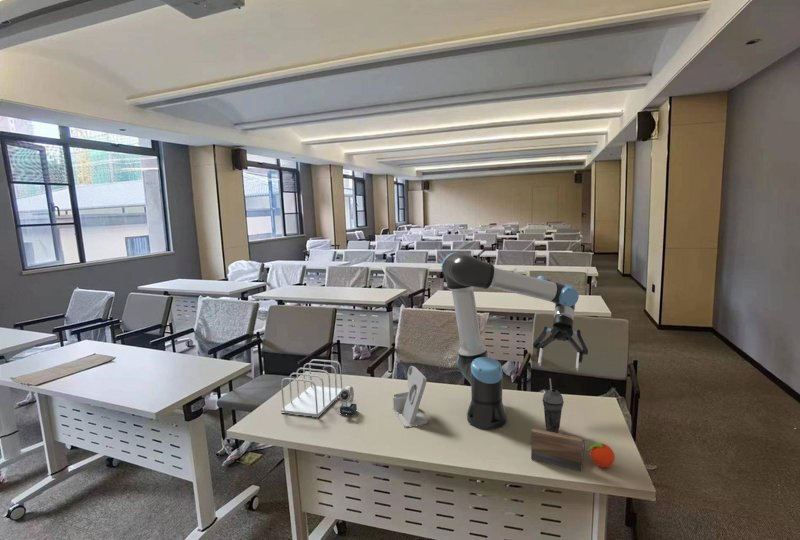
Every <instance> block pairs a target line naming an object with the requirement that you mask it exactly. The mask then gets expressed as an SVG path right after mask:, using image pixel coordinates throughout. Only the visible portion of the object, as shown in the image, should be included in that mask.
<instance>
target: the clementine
mask: <svg viewBox="0 0 800 540" xmlns="http://www.w3.org/2000/svg"><path fill="white" fill-rule="evenodd" d="M587 451H590V452H589V453H590V458H591V460H592V462H593V463H594V464H595V465H597V466H598V467H600V468H609V467H611V466H612V465H613V464H614V463H615V458H616V457H615V453H614V450H613V449H612V448H611V447H610V446H609V445H608V444H605V443H601V442H599V443H597V444H596V443H595V444H592V445H591V446H589V448H588V449H587Z"/></svg>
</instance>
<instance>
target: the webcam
mask: <svg viewBox="0 0 800 540" xmlns="http://www.w3.org/2000/svg"><path fill="white" fill-rule="evenodd" d="M354 397H355V391H354V387H353V386H349V385H345V386H344V387H342V391H341V392H340V393H339V398H338V399H339V401H340V403H341V405H340V406H339V414H340V413H341V414H347V415H346V416H349V415H353V414H354V413H355V412H356V413H357V411H358V409H357V405H358V404H357V403H353V401H354ZM356 410H357V411H356ZM356 413H355V414H356ZM341 414H340V415H341ZM355 414H354V415H355ZM354 415H353V416H354Z"/></svg>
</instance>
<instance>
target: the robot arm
mask: <svg viewBox="0 0 800 540" xmlns="http://www.w3.org/2000/svg"><path fill="white" fill-rule="evenodd" d="M441 272H442V274H443V276H444V277H445V280H446V287H447V290H449V291H450V292H451V295H452V299H453V300H452V301H453V306H454V313H455V319H456V324H457V325H456V326H457V329H458V331H457V332H458V336H459V343H460V347H459V349H458V350H457V353H458V357H457V367H458V370H459V372H460V374H461V375H462V376H463V377H464V378H465V379H466V380H467V381H468V383H469V384H470V386H471V392H470V393H471V395H470V396H471V398H470V399H471V400H470V404H469V407H468V409H467V412H466V420H467V422H468V424H470V425H471V426H473V427H475V428H477V429H478V428H479V429H482V430H496V429H500V428H503V427H504V426H506V424H507V422H508V420H507V419H508V418H507V417H508V415H507V412H506V410H505V406H504V403H503V375H504V372H503V367H502V366H503V365H502V364H501V362H500V361H498V360H497V359H496V358H492V357H489V356H488V351H487V347H486V346H485V345H484V344H483V343H482V337H481V330H480V324H479V317H478V311H477V305H476V304H477V303H476V298H475V292H474V289H475V288H479V289H484V290H488V289H490V288H491V289H496V290H500V291H505V292H509V293H514V294H517V295H522V296H525V297H530V298H535V299H538V300H542V301H546V302H551V303H553V304H554V305H555V307H554V314H553V323H552V327H551V328H548V326H544V327H543V330H542V332H541V333H540V334H539V335H538V337H537V338H536V339H535V341H534V342H533V343H532V347H533V349H534V350H535V349H536V353H535V354H536V357H537V358H538V360H537V364H538V367H541V366H542V361H543V359H542V358H543V353H544V351H543V349H545V347H547V346H549V345H550V343H552V342H554V341H562V342H566V341H567V342H568V343H570V345H571V346H572V347H573V349H574V350H575V351H576V359H575V360H576V361H575V371H576V372H579V368H580V367H579V364H580V363H583V358H584V355H589V350H588V347H587V345H586V343H585V342H584V339H583V337H582V335H581V330H580V329H577V330H573V328H574V326H573V325H574V319H575V310H576V309H575V308H576V304H577V303H578V301H579V297H580V295H579V292H578V290H577V289H576V288H575V287H574V286H573V285H572V284H571V285H570V284H566V283H565V284H563V283H560V282H556V281H554V280H551V279H549V277H546V276H543V275H539V276H537V277H534V276H530V275H527V274H522V273H518V272H514V271H510V270H506V269H501V268H498V267H496V266H495V265H494V264H493V263H489V262H485V261H483V260H481V259H479V258H476V257H474V256H472V255H469V254H466V253H464V252H461V251H460V252H459V251H455V252H451V253H449V254H448V255H446V256H445V257H444V259H443V260H442V262H441ZM550 333H551V334H550ZM549 334H550V335H549ZM547 335H549V336H548V337H547ZM572 336H575V337H576V338H577V340H578V342H579V344H580V346H581V347H580V346H579V344H577V342H576V341H575V339H573V337H572ZM545 338H546V339H545Z"/></svg>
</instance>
